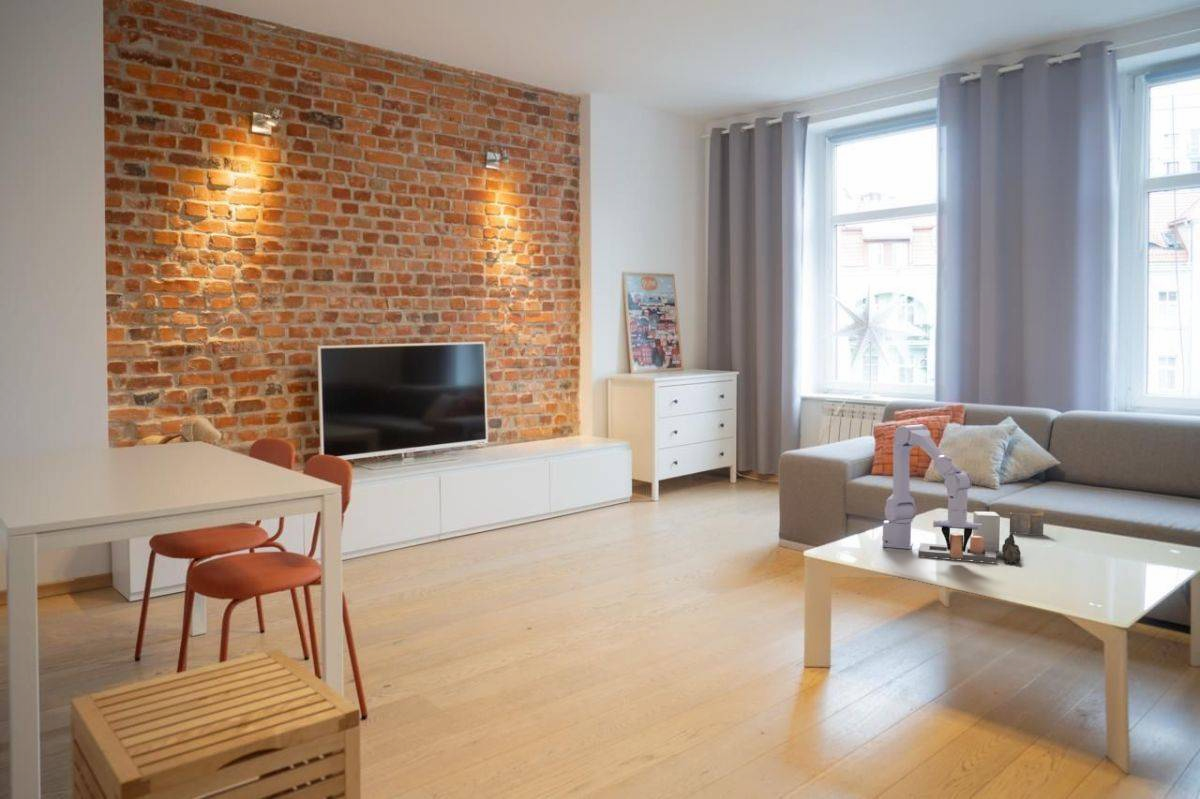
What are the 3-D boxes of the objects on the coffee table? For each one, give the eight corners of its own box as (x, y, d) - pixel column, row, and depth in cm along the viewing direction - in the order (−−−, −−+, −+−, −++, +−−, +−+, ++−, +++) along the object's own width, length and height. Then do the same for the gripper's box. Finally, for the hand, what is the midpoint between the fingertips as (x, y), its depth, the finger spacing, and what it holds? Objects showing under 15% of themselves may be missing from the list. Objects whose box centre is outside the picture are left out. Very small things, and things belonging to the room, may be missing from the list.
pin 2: (969, 558, 297) (970, 537, 296) (969, 555, 300) (970, 535, 300) (982, 559, 295) (983, 538, 295) (982, 556, 299) (983, 536, 298)
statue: (1020, 573, 288) (1017, 547, 306) (1024, 558, 286) (1020, 533, 304) (1000, 568, 290) (997, 543, 308) (1003, 554, 288) (1000, 529, 306)
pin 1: (949, 557, 289) (950, 535, 288) (949, 554, 292) (950, 533, 292) (962, 558, 287) (963, 536, 287) (962, 555, 291) (963, 534, 290)
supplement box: (999, 551, 305) (1000, 515, 304) (976, 551, 306) (977, 515, 305) (994, 546, 312) (995, 511, 311) (972, 545, 314) (973, 510, 313)
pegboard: (918, 556, 299) (918, 550, 299) (920, 548, 310) (920, 543, 310) (996, 563, 290) (996, 557, 290) (995, 554, 301) (995, 549, 301)
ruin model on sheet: (1043, 535, 331) (1043, 509, 330) (1043, 536, 328) (1043, 510, 328) (1009, 532, 336) (1010, 506, 335) (1009, 533, 334) (1010, 508, 333)
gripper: (933, 509, 288) (932, 551, 289) (981, 513, 282) (980, 555, 283) (934, 505, 294) (933, 546, 295) (981, 509, 288) (980, 550, 290)
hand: (956, 550), depth 290 cm, fingers closed on pin 1, 4 cm apart
